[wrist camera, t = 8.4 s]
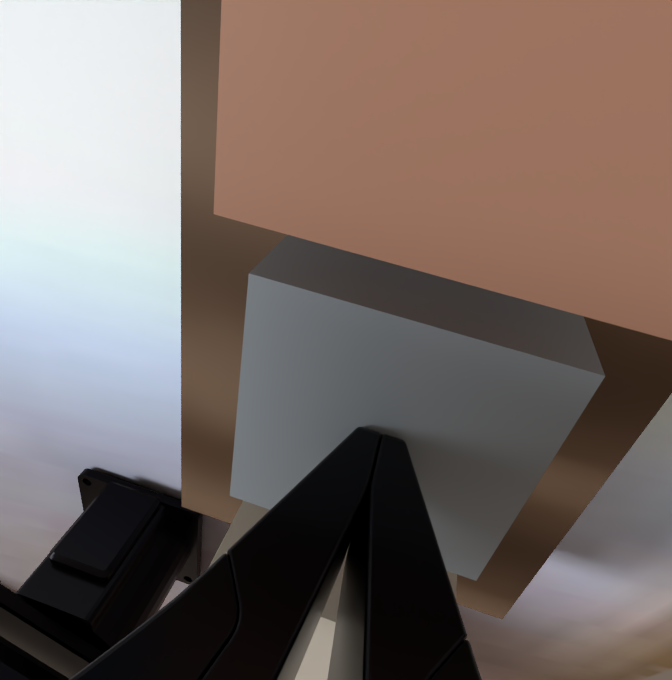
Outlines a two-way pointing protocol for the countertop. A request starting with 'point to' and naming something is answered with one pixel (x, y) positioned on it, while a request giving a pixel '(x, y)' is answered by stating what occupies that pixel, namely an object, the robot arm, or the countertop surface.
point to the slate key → (407, 385)
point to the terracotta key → (461, 141)
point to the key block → (227, 340)
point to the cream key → (319, 650)
